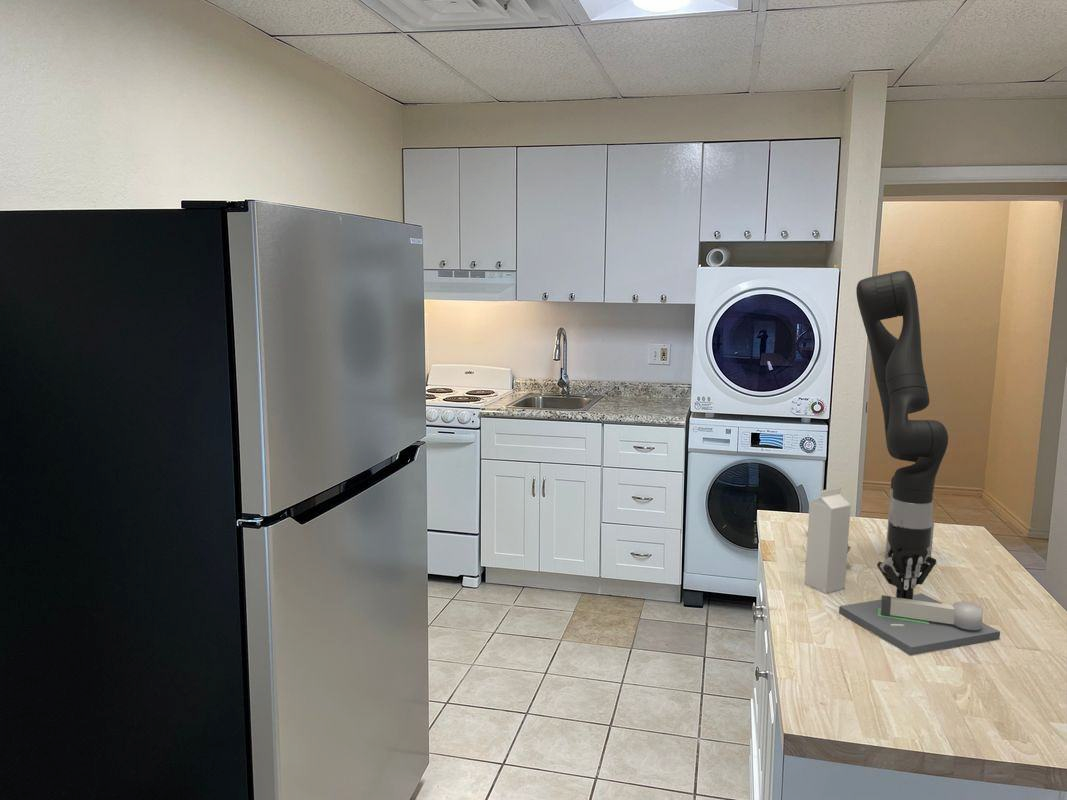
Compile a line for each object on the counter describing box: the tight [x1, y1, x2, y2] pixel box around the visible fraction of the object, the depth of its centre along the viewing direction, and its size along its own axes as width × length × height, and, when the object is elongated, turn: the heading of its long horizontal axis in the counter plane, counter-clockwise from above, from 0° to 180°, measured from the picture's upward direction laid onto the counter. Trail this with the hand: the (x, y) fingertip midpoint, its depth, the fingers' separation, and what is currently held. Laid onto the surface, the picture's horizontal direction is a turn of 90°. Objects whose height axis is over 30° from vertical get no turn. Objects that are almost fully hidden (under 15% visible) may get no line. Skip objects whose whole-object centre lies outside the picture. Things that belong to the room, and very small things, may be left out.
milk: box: [804, 487, 851, 594], centre depth 174 cm, size 6×6×22 cm
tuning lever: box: [880, 594, 984, 630], centre depth 154 cm, size 18×5×4 cm, turn 68°
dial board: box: [838, 592, 1001, 656], centre depth 156 cm, size 21×19×2 cm
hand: (903, 605), depth 159 cm, fingers closed
